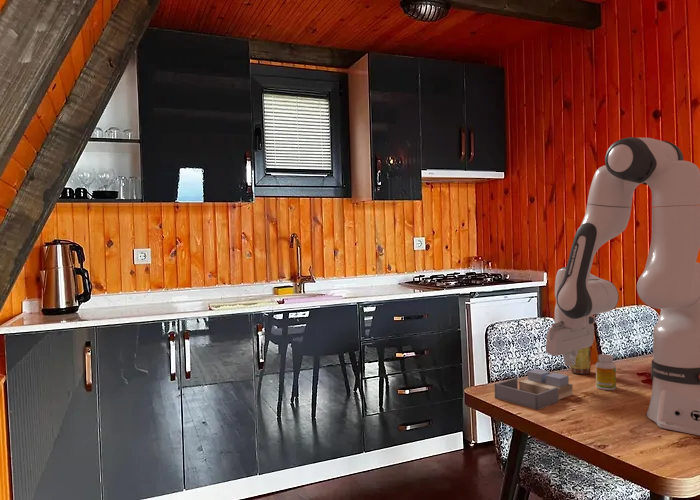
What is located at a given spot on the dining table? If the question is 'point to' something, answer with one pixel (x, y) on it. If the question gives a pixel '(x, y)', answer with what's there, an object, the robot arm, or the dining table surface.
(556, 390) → the tray
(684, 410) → the robot arm
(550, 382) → the tile
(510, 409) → the dining table surface
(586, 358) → the sauce bottle
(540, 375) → the tile
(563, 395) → the board
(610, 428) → the dining table surface
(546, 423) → the dining table surface
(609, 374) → the supplement bottle
